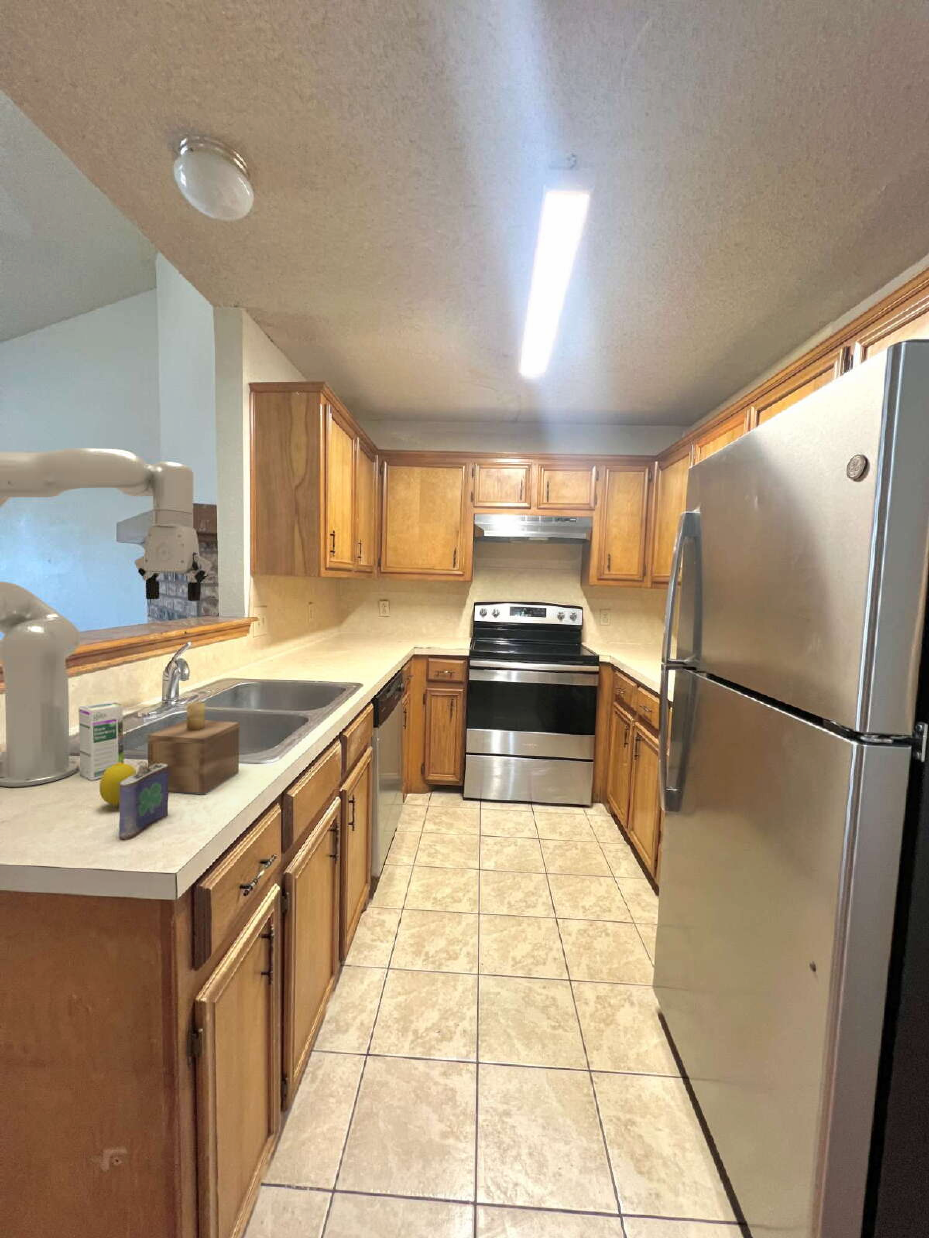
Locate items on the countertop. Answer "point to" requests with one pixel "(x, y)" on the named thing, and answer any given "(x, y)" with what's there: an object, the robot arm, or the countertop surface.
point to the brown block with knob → (196, 751)
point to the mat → (208, 790)
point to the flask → (143, 799)
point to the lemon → (114, 781)
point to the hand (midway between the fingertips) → (173, 599)
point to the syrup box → (100, 738)
